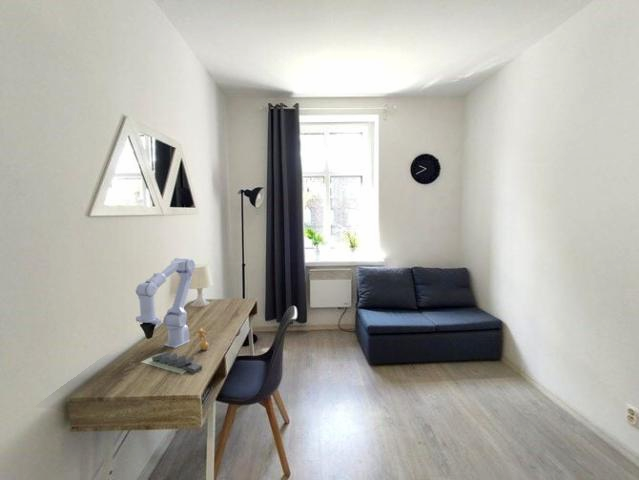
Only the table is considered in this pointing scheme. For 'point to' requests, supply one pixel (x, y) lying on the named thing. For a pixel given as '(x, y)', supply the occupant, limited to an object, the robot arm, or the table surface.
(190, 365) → the tile
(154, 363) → the felt strip
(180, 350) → the table surface
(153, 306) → the robot arm
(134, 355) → the table surface
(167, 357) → the tile
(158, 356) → the tile
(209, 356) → the table surface
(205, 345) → the figurine
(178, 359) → the tile
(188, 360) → the dark grey block
